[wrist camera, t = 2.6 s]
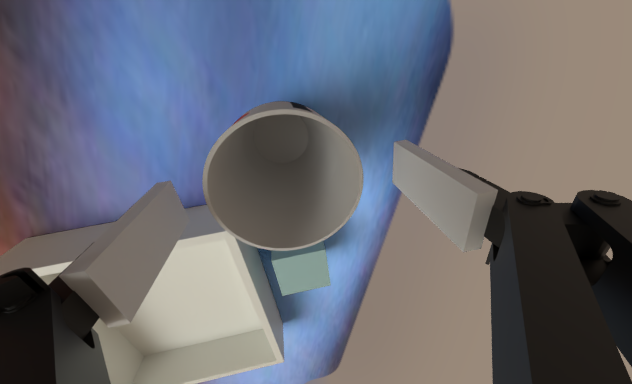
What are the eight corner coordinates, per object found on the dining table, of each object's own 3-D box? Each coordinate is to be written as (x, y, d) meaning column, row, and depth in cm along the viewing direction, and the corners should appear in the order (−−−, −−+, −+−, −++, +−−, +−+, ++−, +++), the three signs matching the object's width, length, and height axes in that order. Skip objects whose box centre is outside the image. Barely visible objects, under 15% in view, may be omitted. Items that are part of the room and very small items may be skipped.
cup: (310, 73, 18) (342, 81, 10) (336, 162, 22) (375, 223, 14) (215, 108, 18) (164, 147, 10) (258, 190, 23) (249, 268, 14)
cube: (271, 227, 25) (271, 261, 21) (316, 218, 25) (325, 249, 21) (281, 259, 28) (282, 295, 23) (321, 251, 28) (330, 285, 24)
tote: (26, 238, 21) (-38, 282, 17) (239, 198, 23) (232, 229, 18) (143, 355, 32) (122, 401, 28) (282, 323, 33) (284, 361, 29)
